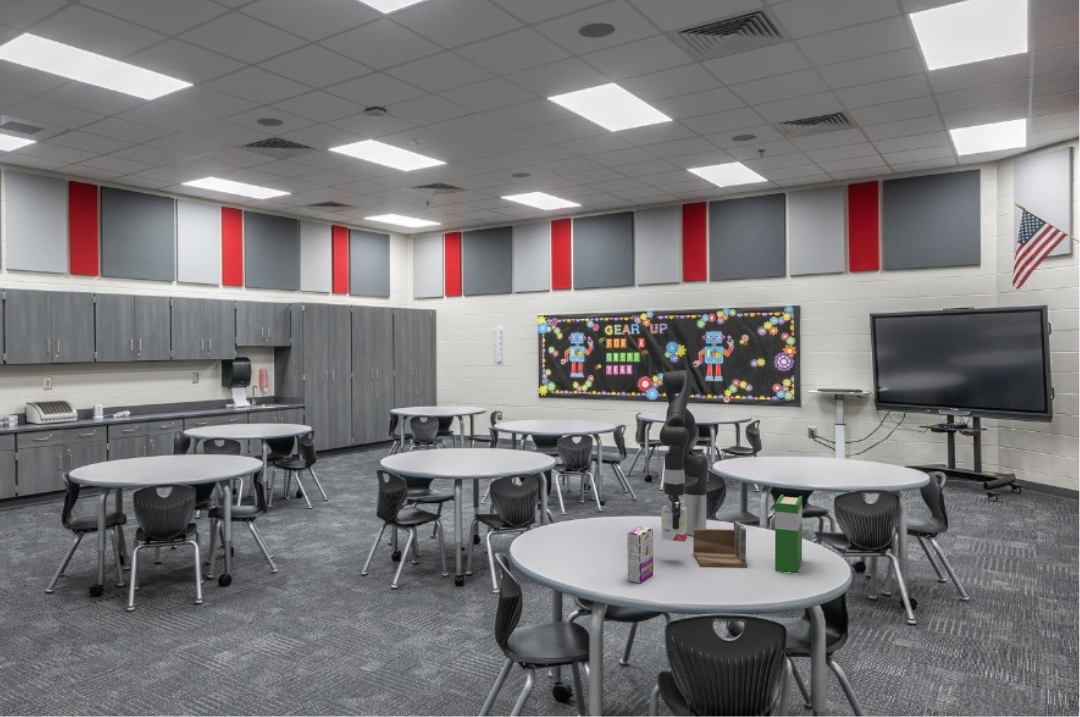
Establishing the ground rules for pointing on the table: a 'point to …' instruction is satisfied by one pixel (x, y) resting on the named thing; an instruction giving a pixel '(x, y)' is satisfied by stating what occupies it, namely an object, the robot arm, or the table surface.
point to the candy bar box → (640, 554)
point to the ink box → (667, 524)
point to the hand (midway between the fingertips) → (674, 526)
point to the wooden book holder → (720, 547)
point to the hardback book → (788, 534)
